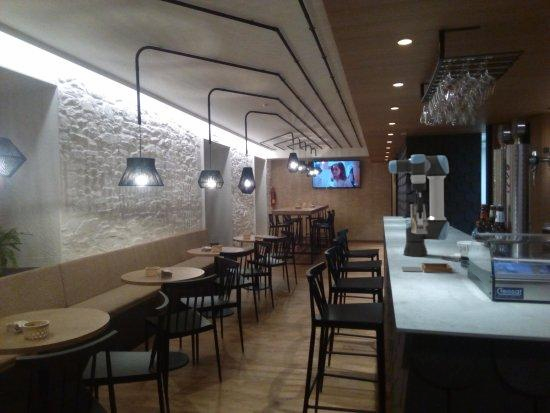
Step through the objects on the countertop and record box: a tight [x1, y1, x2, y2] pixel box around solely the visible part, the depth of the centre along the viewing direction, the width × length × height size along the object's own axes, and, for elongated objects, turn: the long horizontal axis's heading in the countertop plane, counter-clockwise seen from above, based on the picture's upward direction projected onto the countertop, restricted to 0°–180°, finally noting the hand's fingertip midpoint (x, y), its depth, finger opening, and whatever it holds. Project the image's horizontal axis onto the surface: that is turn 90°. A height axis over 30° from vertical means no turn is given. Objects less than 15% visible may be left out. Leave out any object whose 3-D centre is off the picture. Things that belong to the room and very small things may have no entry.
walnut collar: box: [421, 262, 453, 274], centre depth 234 cm, size 14×14×2 cm
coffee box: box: [410, 203, 428, 234], centre depth 234 cm, size 9×6×16 cm
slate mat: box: [401, 266, 423, 273], centre depth 237 cm, size 12×10×1 cm
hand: (419, 223), depth 235 cm, fingers closed on coffee box, 10 cm apart
